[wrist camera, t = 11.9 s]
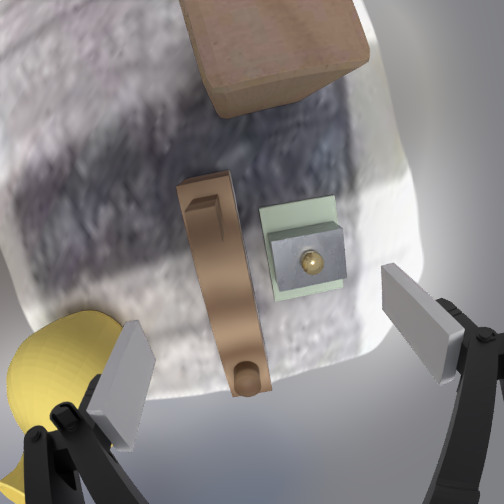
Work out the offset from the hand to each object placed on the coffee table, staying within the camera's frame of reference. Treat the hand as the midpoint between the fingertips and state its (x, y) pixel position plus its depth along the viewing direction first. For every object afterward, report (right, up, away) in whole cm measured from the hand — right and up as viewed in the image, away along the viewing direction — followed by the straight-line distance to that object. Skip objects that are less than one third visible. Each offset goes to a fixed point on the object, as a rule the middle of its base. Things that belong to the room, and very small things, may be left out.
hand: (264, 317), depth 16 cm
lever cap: (+6, +3, +23) cm, 23 cm away
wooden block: (-1, +24, +16) cm, 29 cm away
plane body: (-3, 0, +24) cm, 24 cm away
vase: (-23, -9, +26) cm, 36 cm away
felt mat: (+6, +4, +23) cm, 24 cm away
